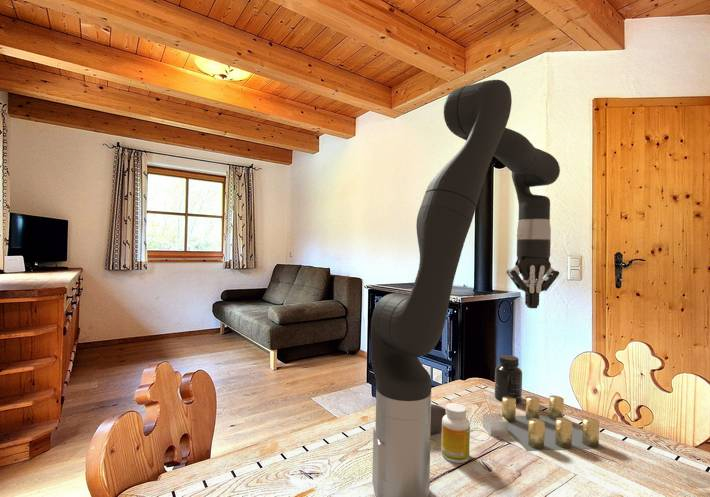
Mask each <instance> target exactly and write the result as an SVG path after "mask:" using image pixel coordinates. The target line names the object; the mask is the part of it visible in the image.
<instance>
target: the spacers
mask: <svg viewBox="0 0 710 497" xmlns="http://www.w3.org/2000/svg"><path fill="white" fill-rule="evenodd" d="M564 399H565V398H564V397H561V396H559V395H550V396H549V404H548V405H549V407H548V409H549V410H548V415H549V418H550V419H552V420H554V421H556V433H555V444H556V445H557V446H559V447H562V448H566V449H570V448H572V425H573V422H572V420H570V419H568V418H565V417H564V404H565V403H564V402H565V400H564ZM501 405H502V406H501V415H502V416H503V417H504V418H505V419H506V420H507V421H508V422H510V423H513V422H515V418H516V416H517V415H516V412H517V410H516V409H517V408H516V405H517V404H516V399H515V398H513V397H509V396H504V397H502V402H501ZM540 409H541V399H540V398H539V397H537V396H534V395H527V396H525V416H526V419H527V420H529V428H528V445H529V446H530V447H532V448H535V449H544V435H545V422H544V421H542V420H540V414H541V413H540V412H541V410H540ZM581 421H582V422H581V423H582V425H581V431H582V443H583V444H584V445H586V446H588V447H592V448H598V447H599V444H600V421H599V420H598V419H596V418H593V417H589V416H584V417H582V420H581Z"/></svg>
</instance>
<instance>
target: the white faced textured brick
mask: <svg viewBox="0 0 710 497" xmlns="http://www.w3.org/2000/svg"><path fill="white" fill-rule="evenodd" d="M482 428H483V429H484V430H485V431H486V432H487V434H489V436H490V437H496V436H497V437H498V436H500V437H501V436H502V437H503V436H505V437H506V436H509V432H508V421H507V420H506V419H505V418H504V417H503V416H502V413H483V414H482Z"/></svg>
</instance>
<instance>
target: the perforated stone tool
mask: <svg viewBox="0 0 710 497" xmlns="http://www.w3.org/2000/svg"><path fill="white" fill-rule="evenodd" d="M444 415H446V407H445V408H444V407H442V406H440V405H437V404H433V403H431V431H430V435H433V434H437V433H442V418H443V416H444Z"/></svg>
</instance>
